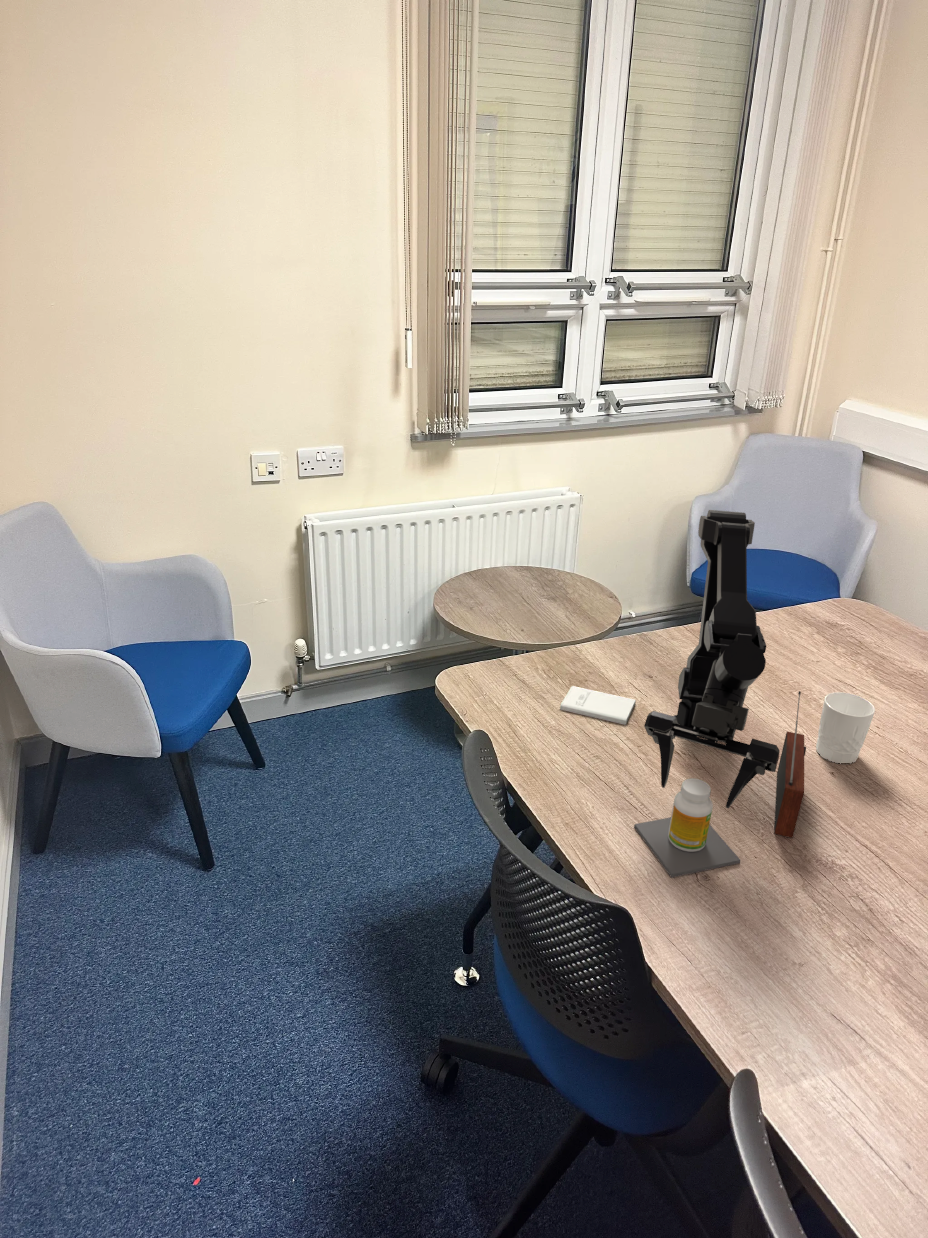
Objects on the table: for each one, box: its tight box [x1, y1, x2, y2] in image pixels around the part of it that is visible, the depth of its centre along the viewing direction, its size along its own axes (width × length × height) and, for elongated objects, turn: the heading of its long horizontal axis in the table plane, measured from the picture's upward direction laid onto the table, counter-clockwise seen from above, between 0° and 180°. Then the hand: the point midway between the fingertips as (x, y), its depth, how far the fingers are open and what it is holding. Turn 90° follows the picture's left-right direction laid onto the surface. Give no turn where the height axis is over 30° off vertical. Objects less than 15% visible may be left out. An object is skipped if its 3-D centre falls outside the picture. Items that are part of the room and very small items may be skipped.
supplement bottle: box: [668, 777, 714, 852], centre depth 120 cm, size 5×5×10 cm
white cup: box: [815, 691, 876, 765], centre depth 143 cm, size 8×8×10 cm
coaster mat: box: [633, 817, 741, 878], centre depth 122 cm, size 11×11×1 cm
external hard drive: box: [559, 685, 637, 726], centre depth 156 cm, size 2×8×12 cm
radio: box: [773, 690, 807, 839], centre depth 129 cm, size 19×3×15 cm, turn 160°
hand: (694, 797), depth 119 cm, fingers open, 9 cm apart
